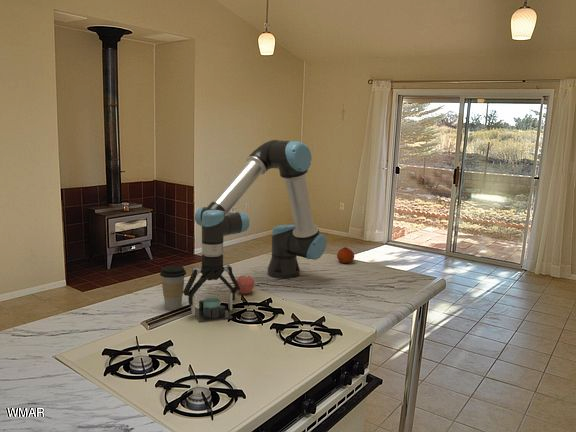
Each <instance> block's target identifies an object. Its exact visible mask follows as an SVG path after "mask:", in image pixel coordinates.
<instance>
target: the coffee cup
mask: <svg viewBox="0 0 576 432" xmlns="http://www.w3.org/2000/svg"><path fill="white" fill-rule="evenodd" d="M186 274H187V271H186V269H185V267H184V266H182V265H166V266H163V267H162V268H161V270H160V273H159V275H160V276H161V286H162V294H163V298H164V306H165V307H164V308H165V310H168V311H176V310H175V309H177V310H179V309H178V308H180V309H181V308H182V301H183V295H184V293H183V291H184V289H185V287H184V286H185V275H186Z"/></svg>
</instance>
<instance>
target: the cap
mask: <svg viewBox="0 0 576 432" xmlns="http://www.w3.org/2000/svg"><path fill="white" fill-rule="evenodd" d="M202 300H203V314H204V308H218V307H220V306H221V298H219V297H216V296H211V297H205V298H204V299H202Z"/></svg>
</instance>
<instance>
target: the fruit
mask: <svg viewBox="0 0 576 432" xmlns="http://www.w3.org/2000/svg"><path fill="white" fill-rule="evenodd" d="M336 258H337V261H339V262H340V263H341V264H350V263H351V262H353V261H354V259H355V253H354V251H352V249H350V248H348V247H342V248H339V250H338V252H337V254H336Z"/></svg>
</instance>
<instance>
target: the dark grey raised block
mask: <svg viewBox="0 0 576 432" xmlns="http://www.w3.org/2000/svg"><path fill="white" fill-rule="evenodd" d="M203 300H204V299H202V300H199V301H198V307H197V308H196V307H195V314H194V315H193V316H194V317H195V319H196V320H197V322H198V324H201V323H208V322H216V321H224V320H225V321H226V320H232V318H233V315H232V314H231V313H230V311H228V310H229V309H227V310H225V308H226V305H224V306H223V305H220V307H218V308H204V314H203Z"/></svg>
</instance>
